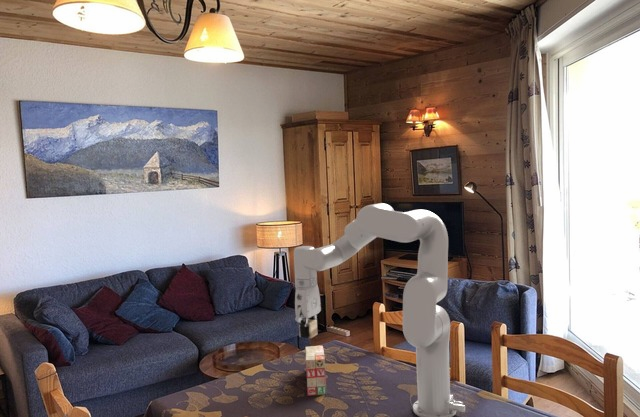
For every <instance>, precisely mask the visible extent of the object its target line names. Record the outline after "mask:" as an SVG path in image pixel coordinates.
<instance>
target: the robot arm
mask: <svg viewBox="0 0 640 417" xmlns="http://www.w3.org/2000/svg"><path fill="white" fill-rule="evenodd" d="M356 214H357V215H356V218H355V219H354V220H352V221H351V222H349V223H348V224H347V225H345V227H344V234H343V235H342V236H341V237H340V238H338V239H337V240H336V241H334V242H333V243H331V244H328V245H327V244H326V245H322V246H321V247H317V248H315V247H314V246H312V245H301V246H300V245H299V246H296V247H295V248H294V249H293V268H294V270H293V271H294V283H295V284H294V287H295V295H294V296H295V297H294V309H295V310H294V312H295V318H294V320H295V321H296V322H297V324H298V327H299V326H300V334H299V337H300V336H301V337H300V338H305V339H310V338H309V326H307V325H308V319H311V320H317V321H318V318H317V317H318V315H319V313H320V312H321V311H322V307H321V306H322V305H321V304H322V303H321V295H320V290H319V286H318V274H317V272H322V271H325V270H329V269H331V268H333V267H337V266H339V265H341V264H342V263H344V262H346V261H347V260H348V259H350V258H351V257H353V256H354V255H356V254H357V253H358V252H359V251H360V250H362V248H363V247H365V246H367V245H368V244H369V243H371V242H372V241H374V240H375V239H376V238H381V239H385V240H390V241H394V242H398V243H411V242H414V241H417V240H419V248H418V254H417V269H416V270H417V272H416V275H413V276H412V277H411V278H410V279H409V280H408V281H407V282H406V284H405V286H404V289H403V292H402V293H403V294H402V332H403V336H404V338H405V340H406V341H407V342H408V344H410V345H411V346H412V347H414V348H415V356H416V357H415V359H416V360H415V361H416V386H417V400H416V401H415V402H414V403H413V404H412V411H413V413H414V414H415V415H417V417H454V416H455V415H456V414H457V412H460V413H461V412H462V413H465V412H466V405H464V401H460V400H456V399H454V394H451V378H450V377H451V376H450V374H451V372H450V335H451V334H450V333H451V320H450V316H449V314H448V312H447V311H446V309H445V308H443V307H442V306H440V305H438V304H437V303H439V302H440V301H442V300H443V299H444V298H445V297H446V295H447V293H448V284H449V282H448V277H449V276H448V274H449V261H448V260H449V258H448V257H449V236H448V235H449V234H448V231H447V230H448V229H447V228H446V224H445V223H444V222H443V220H442V219H441V218H440V217H439V216H438V215H437V214H435V213H434V212H432V211H430V210H427V209H413V210H409V211H404V212H403V211H397V210H394V208H393V207H392V206H391V205H390V204H387V203H383V202H380V203H373V204H368V205H365V206H363V207H362V208H361V209H360V210H359V211H358V212H357V213H356ZM304 320H305V322H304Z"/></svg>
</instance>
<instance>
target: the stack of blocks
mask: <svg viewBox="0 0 640 417" xmlns="http://www.w3.org/2000/svg"><path fill="white" fill-rule="evenodd" d="M325 357H326V356H325V350H324V346H323V345H311V346H305V367H306V369H305V370H306V373H305V374H306V390H307V392H306V394H307V396H323V395H325V394H326V395H327V384H326V383H327V380H326V379H327V378H326V358H325ZM326 395H325V396H326Z"/></svg>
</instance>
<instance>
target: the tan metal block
mask: <svg viewBox="0 0 640 417" xmlns="http://www.w3.org/2000/svg"><path fill="white" fill-rule="evenodd" d="M303 320H304V322H305V319H303ZM307 326H309V338H308V339H312V338H314V337H316V336H317V335H318V319H317V320H311V319H309V318H308V325H307ZM298 330H299V337H300V338H302V337H301V336H300V326H299V325H298Z"/></svg>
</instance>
